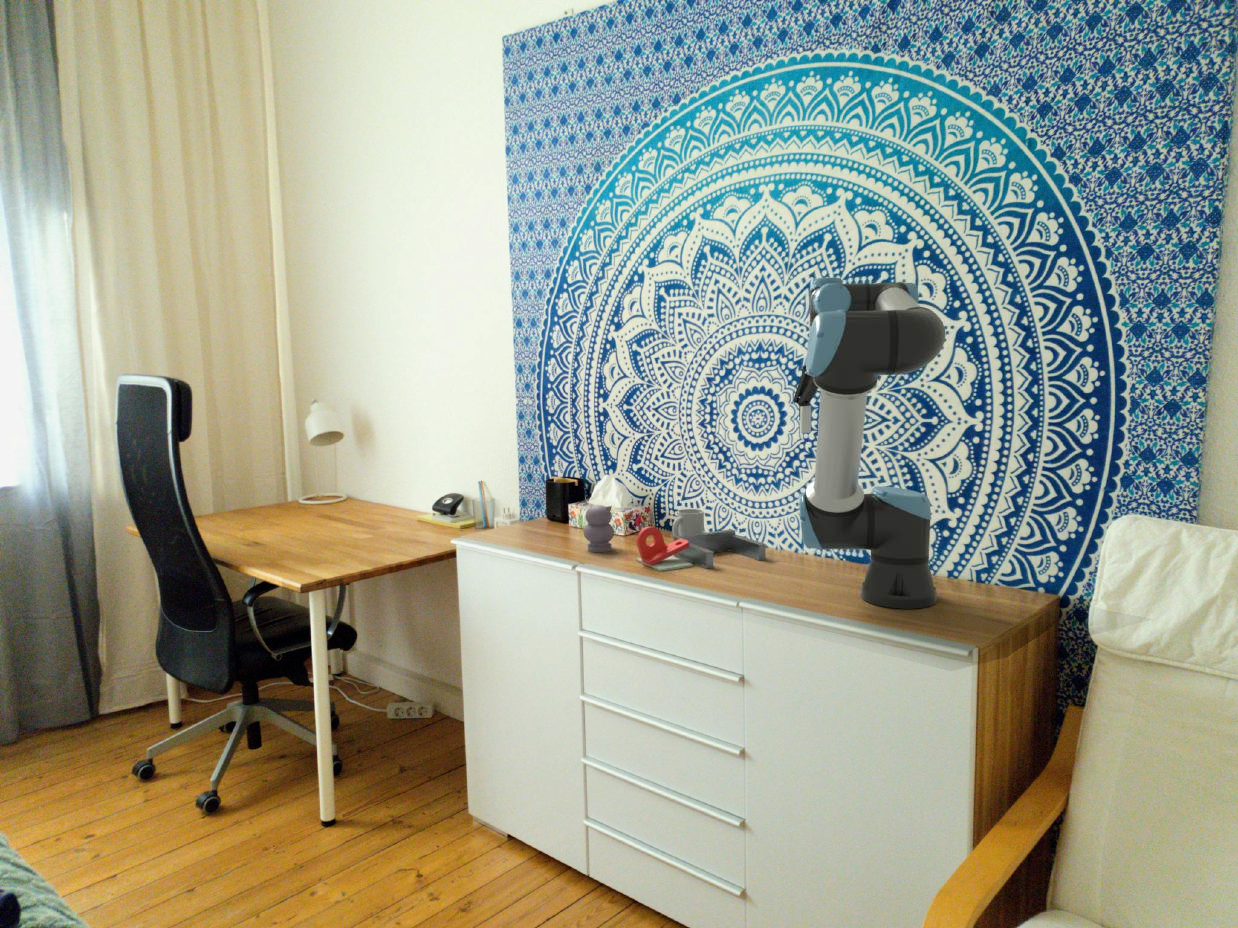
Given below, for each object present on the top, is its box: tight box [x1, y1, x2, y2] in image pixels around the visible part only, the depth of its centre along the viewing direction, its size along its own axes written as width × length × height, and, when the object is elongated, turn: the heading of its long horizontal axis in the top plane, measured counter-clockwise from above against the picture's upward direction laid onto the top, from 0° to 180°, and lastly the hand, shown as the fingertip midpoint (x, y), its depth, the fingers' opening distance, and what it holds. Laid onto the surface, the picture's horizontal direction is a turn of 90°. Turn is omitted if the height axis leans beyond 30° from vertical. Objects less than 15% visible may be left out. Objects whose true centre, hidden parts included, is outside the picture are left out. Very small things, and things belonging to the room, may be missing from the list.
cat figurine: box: [583, 503, 615, 553], centre depth 233 cm, size 8×8×12 cm
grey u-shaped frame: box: [673, 528, 767, 569], centre depth 224 cm, size 20×18×5 cm
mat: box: [636, 555, 694, 572], centre depth 217 cm, size 12×9×1 cm
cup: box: [671, 508, 705, 538], centre depth 237 cm, size 7×10×9 cm
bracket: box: [636, 526, 690, 566], centre depth 216 cm, size 12×4×8 cm, turn 117°
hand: (823, 435), depth 209 cm, fingers open, 13 cm apart
